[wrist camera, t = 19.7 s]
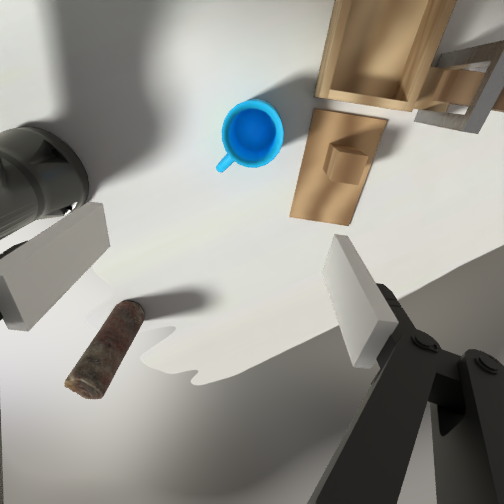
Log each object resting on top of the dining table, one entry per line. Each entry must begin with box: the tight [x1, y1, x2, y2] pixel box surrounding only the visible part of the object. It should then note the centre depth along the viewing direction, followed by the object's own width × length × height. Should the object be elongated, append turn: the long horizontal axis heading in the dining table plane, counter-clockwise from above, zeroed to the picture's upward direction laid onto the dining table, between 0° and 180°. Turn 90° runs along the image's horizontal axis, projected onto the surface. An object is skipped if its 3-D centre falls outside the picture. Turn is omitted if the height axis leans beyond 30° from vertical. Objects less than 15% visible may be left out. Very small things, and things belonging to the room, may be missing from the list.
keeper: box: [414, 40, 504, 134], centre depth 33 cm, size 2×8×12 cm, turn 172°
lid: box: [290, 109, 387, 226], centre depth 41 cm, size 11×18×8 cm, turn 172°
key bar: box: [432, 69, 504, 112], centre depth 30 cm, size 12×3×3 cm, turn 82°
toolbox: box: [314, 0, 457, 113], centre depth 32 cm, size 19×18×6 cm
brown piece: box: [65, 301, 144, 399], centre depth 56 cm, size 8×7×20 cm
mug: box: [216, 99, 284, 172], centre depth 39 cm, size 12×8×8 cm
